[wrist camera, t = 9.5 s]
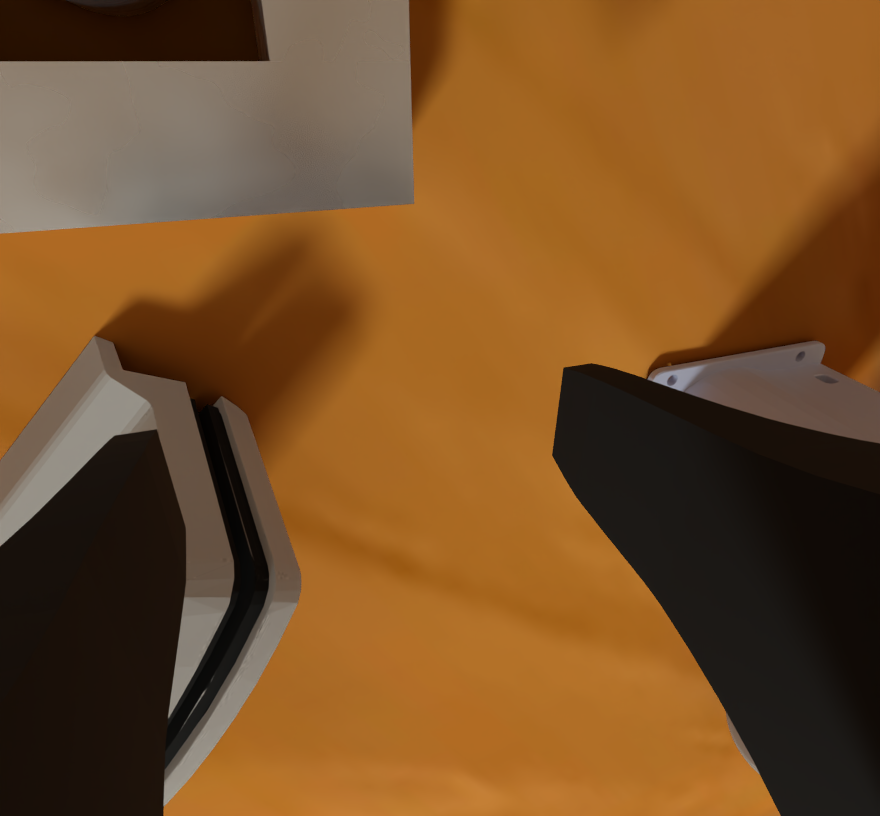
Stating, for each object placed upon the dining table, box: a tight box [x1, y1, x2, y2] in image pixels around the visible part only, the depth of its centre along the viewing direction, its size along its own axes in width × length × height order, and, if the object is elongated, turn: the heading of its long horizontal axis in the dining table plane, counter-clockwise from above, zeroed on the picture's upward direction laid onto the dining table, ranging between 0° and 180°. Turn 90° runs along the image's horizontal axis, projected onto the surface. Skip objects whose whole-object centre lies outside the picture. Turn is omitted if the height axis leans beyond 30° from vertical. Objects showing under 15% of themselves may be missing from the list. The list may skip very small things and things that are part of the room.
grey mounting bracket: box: [0, 336, 301, 806], centre depth 17 cm, size 17×5×10 cm, turn 135°
